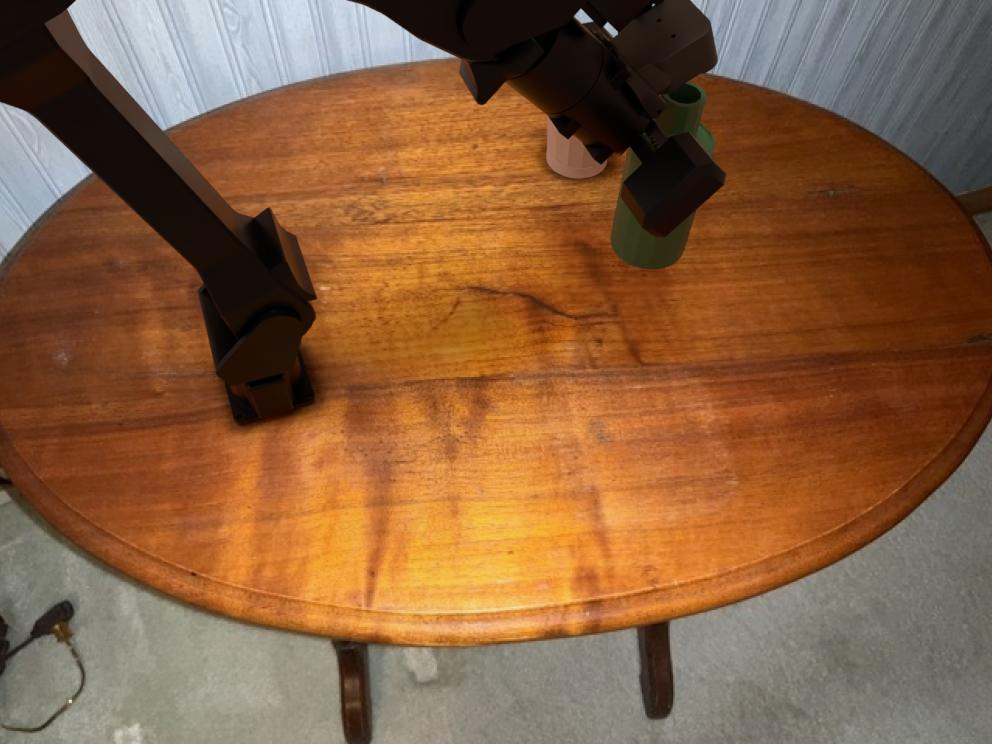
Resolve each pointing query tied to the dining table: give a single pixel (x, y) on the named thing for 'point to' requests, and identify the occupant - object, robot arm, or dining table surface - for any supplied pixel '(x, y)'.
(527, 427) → the dining table surface
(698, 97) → the bottle
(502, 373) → the dining table surface
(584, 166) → the cup
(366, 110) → the dining table surface
